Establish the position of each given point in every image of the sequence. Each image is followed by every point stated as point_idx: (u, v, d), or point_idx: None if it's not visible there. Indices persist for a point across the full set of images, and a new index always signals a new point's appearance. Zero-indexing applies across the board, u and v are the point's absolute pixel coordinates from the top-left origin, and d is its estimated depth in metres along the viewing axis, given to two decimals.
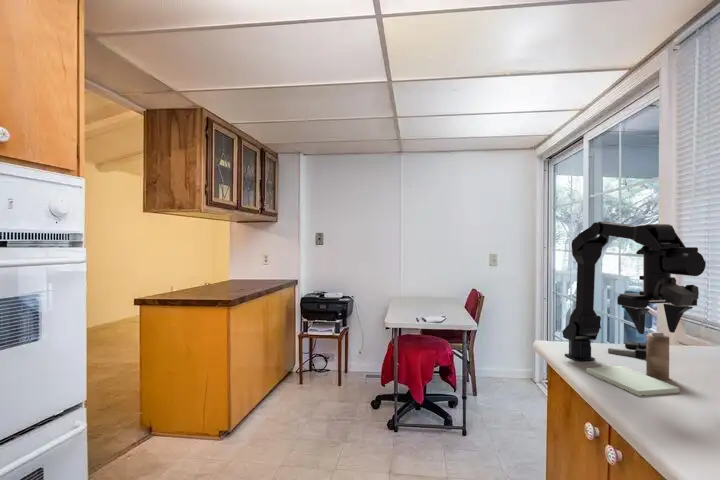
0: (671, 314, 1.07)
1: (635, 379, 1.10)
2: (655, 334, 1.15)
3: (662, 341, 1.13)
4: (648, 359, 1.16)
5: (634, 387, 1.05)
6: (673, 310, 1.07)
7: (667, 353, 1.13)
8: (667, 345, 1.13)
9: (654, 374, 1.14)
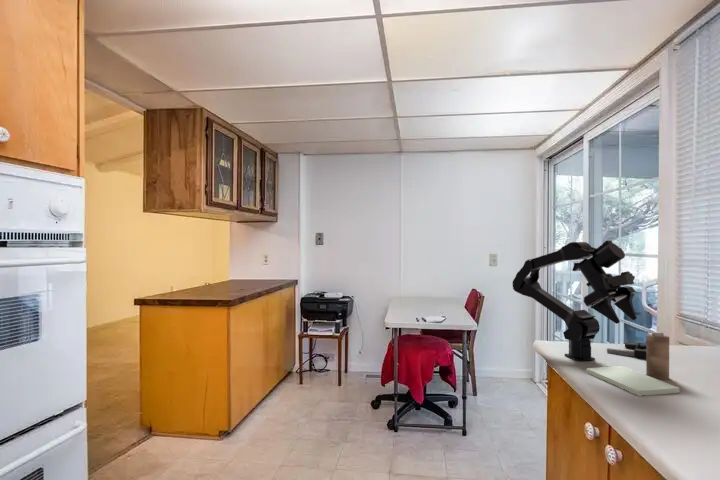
0: (625, 306, 1.26)
1: (635, 379, 1.10)
2: (655, 334, 1.15)
3: (662, 341, 1.13)
4: (648, 359, 1.16)
5: (634, 387, 1.05)
6: (624, 302, 1.27)
7: (667, 353, 1.13)
8: (667, 345, 1.13)
9: (654, 374, 1.14)
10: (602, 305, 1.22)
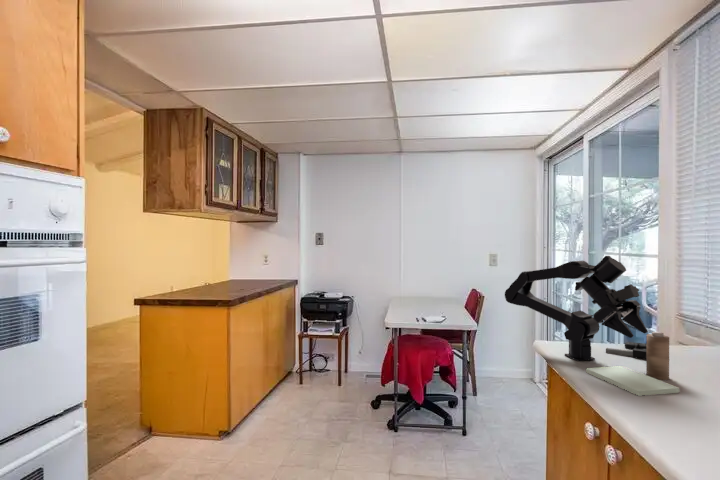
0: (633, 320, 1.25)
1: (635, 379, 1.10)
2: (655, 334, 1.15)
3: (662, 341, 1.13)
4: (648, 359, 1.16)
5: (634, 387, 1.05)
6: (632, 316, 1.26)
7: (667, 353, 1.13)
8: (667, 345, 1.13)
9: (654, 374, 1.14)
10: (613, 320, 1.20)
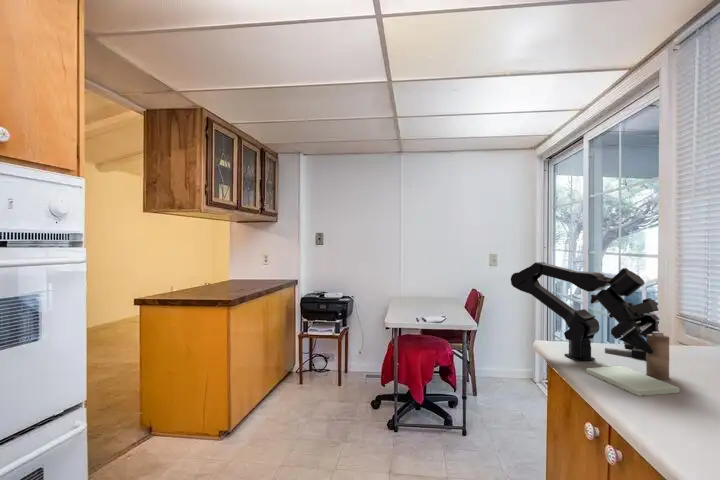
0: None
1: (635, 379, 1.10)
2: (655, 334, 1.15)
3: (662, 341, 1.13)
4: (648, 359, 1.16)
5: (634, 387, 1.05)
6: (650, 331, 1.22)
7: (667, 353, 1.13)
8: (667, 345, 1.13)
9: (654, 374, 1.14)
10: (631, 336, 1.16)
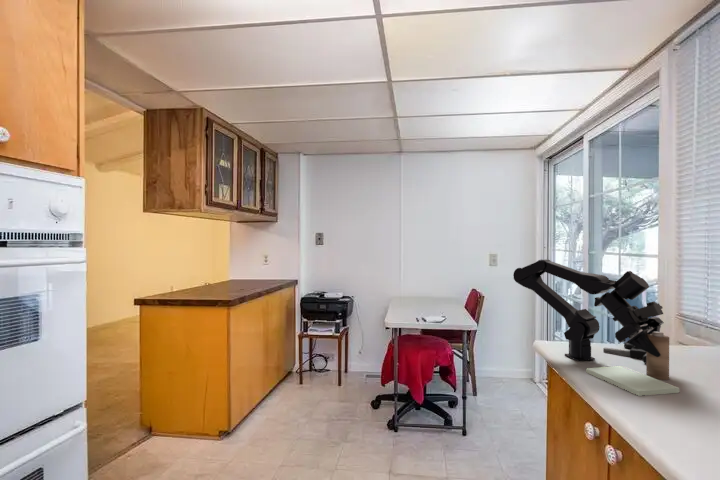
0: None
1: (635, 379, 1.10)
2: (655, 334, 1.15)
3: (662, 341, 1.13)
4: (648, 359, 1.16)
5: (634, 387, 1.05)
6: None
7: (667, 353, 1.13)
8: (667, 345, 1.13)
9: (654, 374, 1.14)
10: (638, 339, 1.16)
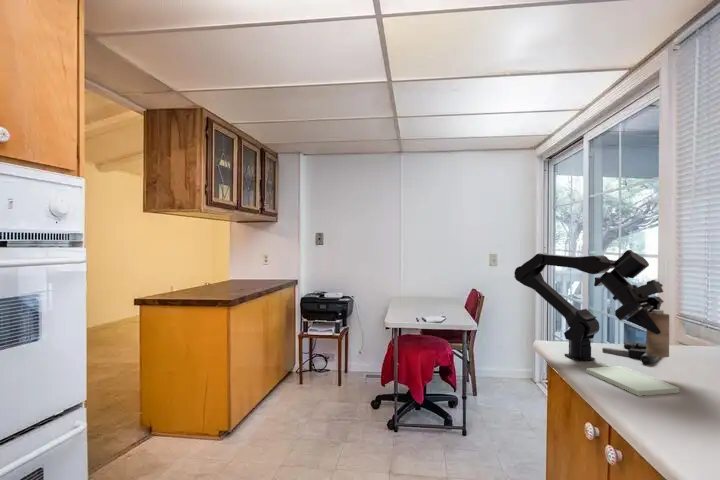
0: None
1: (635, 379, 1.10)
2: (655, 312, 1.15)
3: (662, 319, 1.13)
4: (648, 337, 1.16)
5: (634, 387, 1.05)
6: None
7: (667, 330, 1.13)
8: (667, 322, 1.13)
9: (654, 351, 1.14)
10: (638, 316, 1.16)
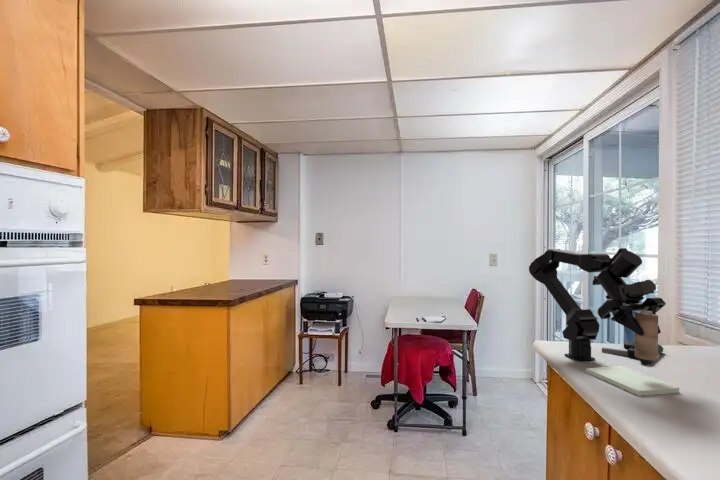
0: None
1: (635, 379, 1.10)
2: (642, 312, 1.11)
3: (647, 320, 1.09)
4: (635, 338, 1.12)
5: (634, 387, 1.05)
6: None
7: (653, 332, 1.09)
8: (653, 324, 1.09)
9: (639, 353, 1.11)
10: (624, 316, 1.13)
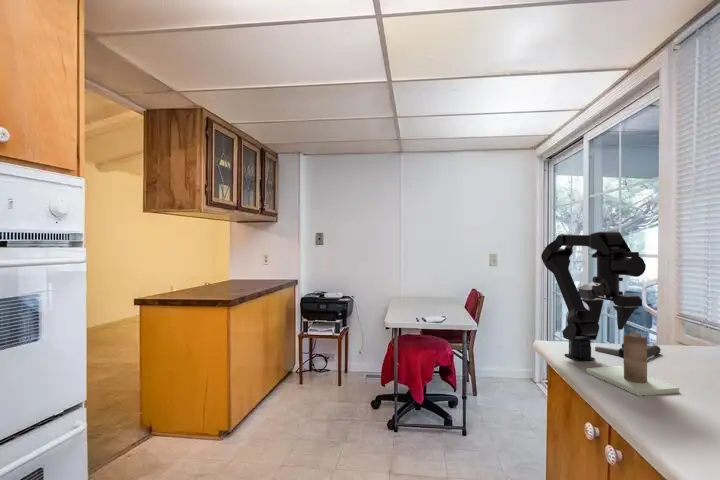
0: None
1: None
2: (630, 334, 1.10)
3: (633, 342, 1.08)
4: None
5: (634, 387, 1.05)
6: None
7: (640, 355, 1.08)
8: (640, 346, 1.08)
9: (626, 375, 1.10)
10: None
